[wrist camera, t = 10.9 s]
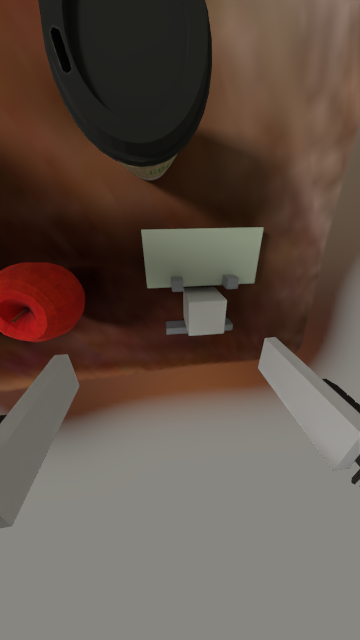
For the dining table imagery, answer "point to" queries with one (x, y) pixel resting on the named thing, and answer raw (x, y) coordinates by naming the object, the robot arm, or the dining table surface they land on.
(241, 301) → the dining table surface
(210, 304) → the gray rectangular prism
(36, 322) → the apple
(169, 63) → the coffee cup
